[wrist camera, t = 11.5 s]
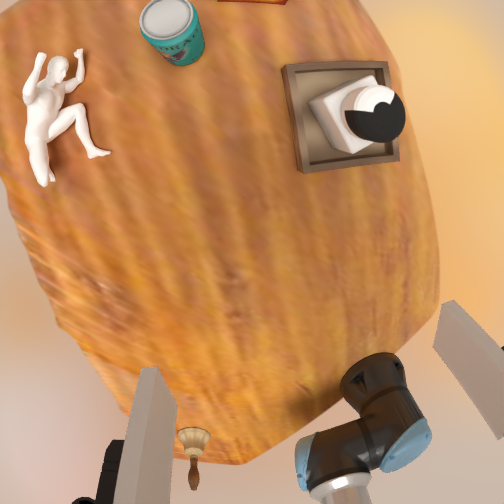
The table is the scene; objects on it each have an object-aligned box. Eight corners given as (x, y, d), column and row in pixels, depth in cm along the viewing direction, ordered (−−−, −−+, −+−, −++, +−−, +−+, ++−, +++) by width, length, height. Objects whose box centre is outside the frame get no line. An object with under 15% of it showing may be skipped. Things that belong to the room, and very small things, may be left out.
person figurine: (77, 188, 32) (30, 51, 22) (18, 209, 34) (-24, 98, 24) (124, 150, 42) (90, 43, 32) (66, 171, 45) (33, 78, 35)
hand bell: (216, 432, 67) (218, 487, 53) (202, 446, 70) (202, 497, 55) (185, 423, 65) (182, 479, 50) (172, 437, 67) (169, 490, 53)
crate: (388, 157, 44) (399, 161, 41) (297, 169, 44) (303, 173, 41) (376, 64, 38) (387, 61, 35) (281, 68, 38) (285, 64, 35)
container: (374, 125, 41) (423, 131, 29) (332, 149, 42) (371, 161, 30) (350, 79, 38) (394, 69, 26) (305, 102, 39) (338, 96, 27)
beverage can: (158, 63, 36) (128, 38, 22) (172, 27, 34) (148, -12, 20) (197, 71, 37) (184, 47, 23) (211, 35, 35) (204, -3, 21)
